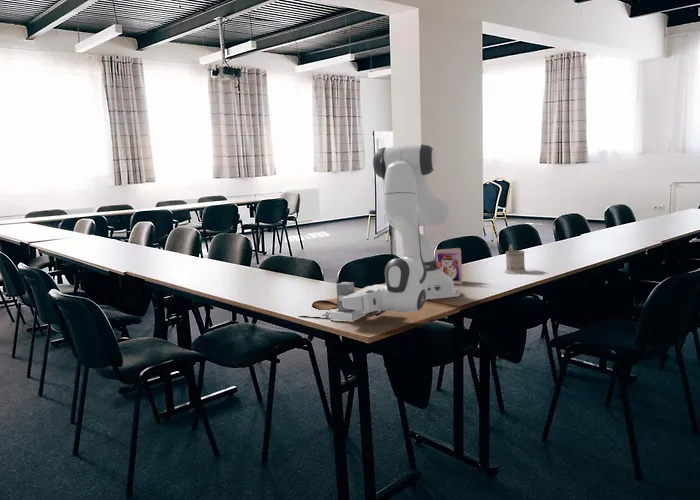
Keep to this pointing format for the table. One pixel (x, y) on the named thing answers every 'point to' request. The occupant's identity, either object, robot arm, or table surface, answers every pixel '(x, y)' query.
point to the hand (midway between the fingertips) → (343, 295)
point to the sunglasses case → (326, 304)
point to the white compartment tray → (347, 315)
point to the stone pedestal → (515, 261)
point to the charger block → (344, 289)
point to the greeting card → (450, 263)
